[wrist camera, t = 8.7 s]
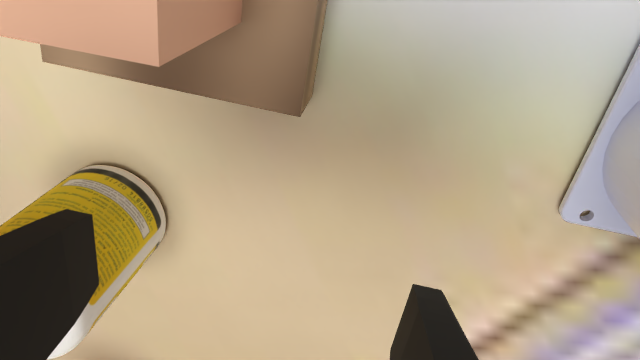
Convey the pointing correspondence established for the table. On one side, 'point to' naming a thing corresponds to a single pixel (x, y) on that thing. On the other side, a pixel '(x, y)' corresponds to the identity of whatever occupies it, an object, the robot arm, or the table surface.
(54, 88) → the table surface
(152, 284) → the table surface
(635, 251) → the table surface
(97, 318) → the supplement bottle
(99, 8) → the terracotta block
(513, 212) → the table surface
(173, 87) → the walnut slab
